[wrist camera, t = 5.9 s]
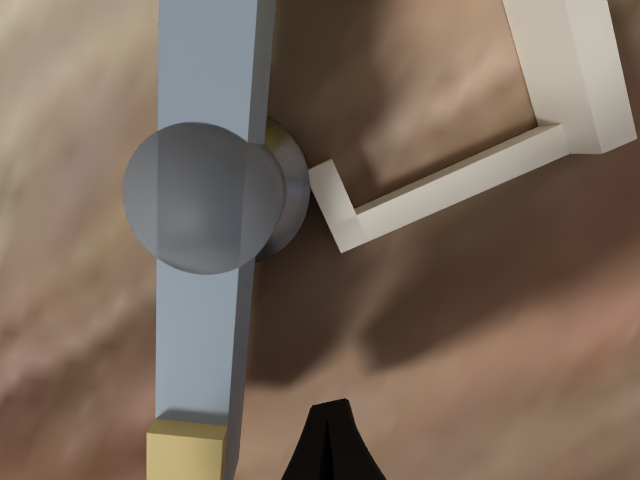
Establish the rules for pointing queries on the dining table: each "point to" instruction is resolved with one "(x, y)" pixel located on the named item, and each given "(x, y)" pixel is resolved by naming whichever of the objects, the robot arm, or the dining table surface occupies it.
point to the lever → (205, 224)
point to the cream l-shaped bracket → (525, 149)
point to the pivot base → (287, 187)
